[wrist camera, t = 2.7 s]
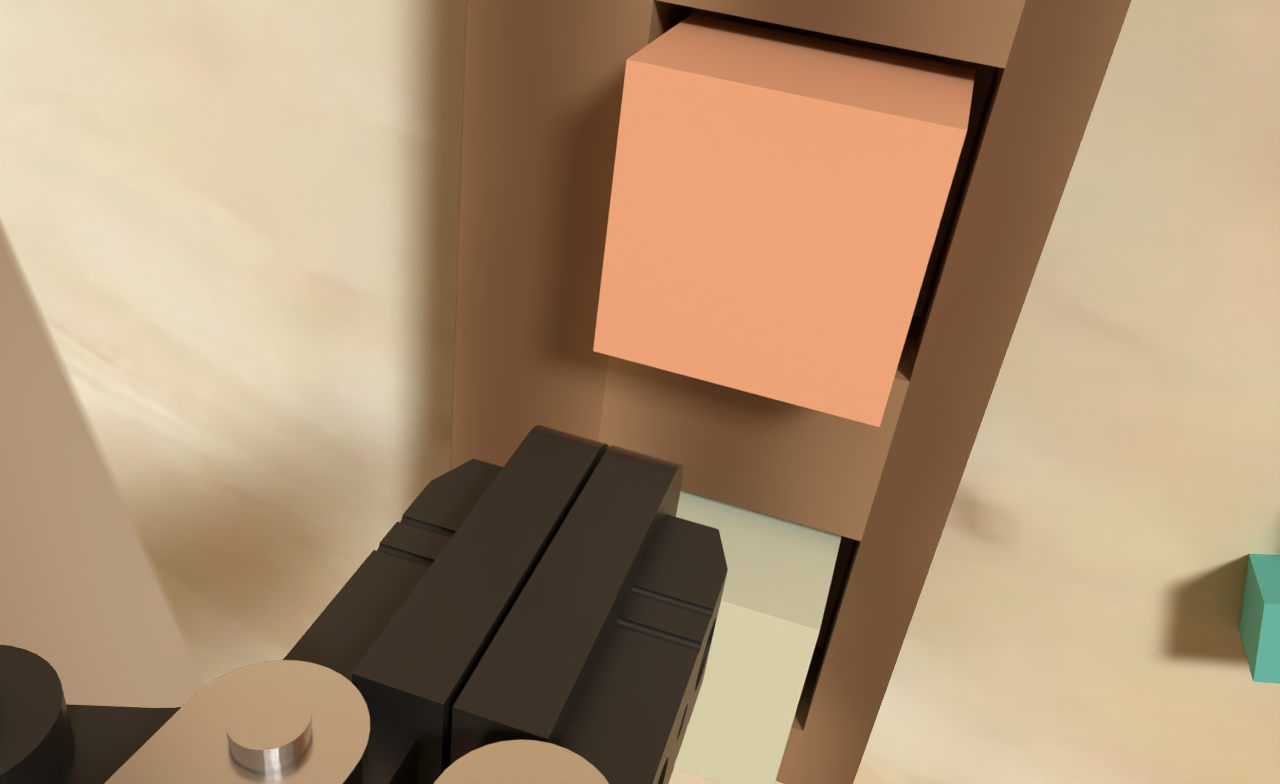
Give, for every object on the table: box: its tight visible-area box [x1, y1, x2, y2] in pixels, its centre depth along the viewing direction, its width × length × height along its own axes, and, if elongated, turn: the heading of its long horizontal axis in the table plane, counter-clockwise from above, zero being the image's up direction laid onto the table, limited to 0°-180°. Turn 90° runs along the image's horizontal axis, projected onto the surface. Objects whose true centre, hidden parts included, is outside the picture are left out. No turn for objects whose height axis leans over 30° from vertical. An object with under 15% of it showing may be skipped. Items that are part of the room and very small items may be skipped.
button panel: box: [451, 0, 1131, 784], centre depth 21 cm, size 11×30×4 cm, turn 172°
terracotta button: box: [593, 14, 976, 427], centre depth 19 cm, size 5×5×4 cm
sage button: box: [674, 490, 841, 784], centre depth 24 cm, size 5×5×4 cm
